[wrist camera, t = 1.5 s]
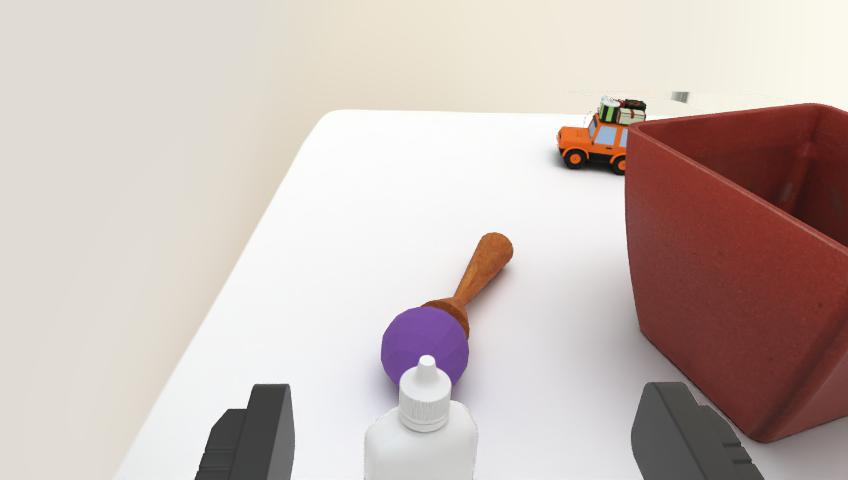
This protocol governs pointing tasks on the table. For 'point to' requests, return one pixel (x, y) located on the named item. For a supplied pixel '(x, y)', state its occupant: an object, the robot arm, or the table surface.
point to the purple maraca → (443, 318)
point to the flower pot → (746, 258)
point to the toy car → (601, 135)
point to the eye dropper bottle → (422, 432)
